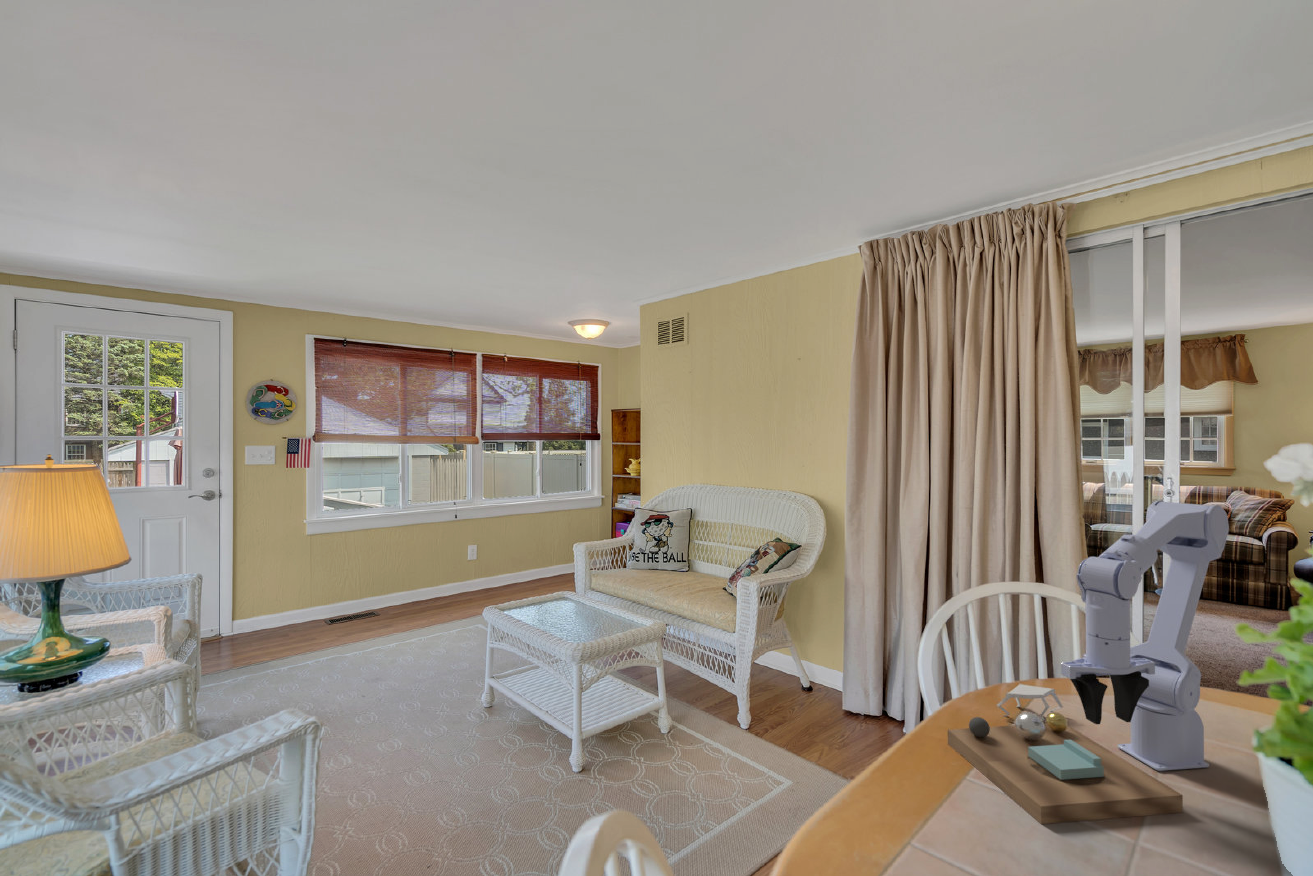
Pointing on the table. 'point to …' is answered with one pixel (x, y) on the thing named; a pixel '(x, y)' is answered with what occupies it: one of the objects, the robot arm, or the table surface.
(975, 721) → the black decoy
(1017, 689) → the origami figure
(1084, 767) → the cover
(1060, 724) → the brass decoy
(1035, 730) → the steel ball
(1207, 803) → the table surface
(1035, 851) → the table surface
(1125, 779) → the wooden board
